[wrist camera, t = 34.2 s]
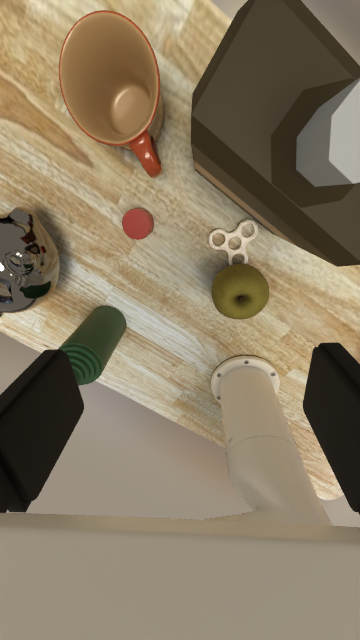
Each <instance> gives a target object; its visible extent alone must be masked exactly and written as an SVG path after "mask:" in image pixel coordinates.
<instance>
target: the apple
mask: <svg viewBox="0 0 360 640" xmlns="http://www.w3.org/2000/svg"><path fill="white" fill-rule="evenodd" d="M211 291H212V299H213V302H214V305H215V307H216V308H217V310H218V311H219V312H220V313H221V314H223V315H224V316H226V317H229V318H232V319H247V318H250V317H253V316H255V315H256V314H258V313H259V312H260V311H261V310H262V309H263V308H264V307H265V305H266V304H267V302H268V299H269V286H268V283H267V281H266V279H265V278H264V276H263V275H262V274H261V273H260V272H259V271H258V270H257V269H256V268H254V267H252V266H250V265H247V264H234V265H231V266H228V267H226V268H225V269H223V270H222V271H221V272H219V273H218V275H217V276H216V277H215V279H214V281H213V284H212V290H211Z"/></svg>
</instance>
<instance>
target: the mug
mask: <svg viewBox="0 0 360 640" xmlns="http://www.w3.org/2000/svg"><path fill="white" fill-rule="evenodd" d="M59 80H60V87H61V92H62V95H63V99H64V102H65V104H66V107H67V109H68V111H69V113H70V115H71V116H72V118H73V120H74V121H75V122H76V124H77V125H78V126H79V127H80V129H81V130H82V131H83V132H85V133H86V134H87V135H88V136H89V137H91V138H92V139H94V140H96V141H98V142H100V143H103V144H107V145H113V146H119V147H121V148H123V149H126V150H129V151H133V152H134V153H135V154H136V156H137V157H138V159H139V160H140V162H141V164H142V166H143V168H144V169H145V171H146V173H147V174H148V175H149V176H150V177H151V178H157V177H159V176H160V175H161V174H162V173H163V172H164V168H163V165H162V162H161V160H160V158H159V155H158V151H157V146H156V143H155V141H156V140H157V139H158V137H159V135H160V132H161V129H162V126H163V121H164V104H163V99H162V95H161V93H160V76H159V69H158V64H157V60H156V57H155V54H154V51H153V49H152V47H151V45H150V43H149V41H148V39H147V38H146V36H145V35H144V33H143V32H142V31H141V30H140V28H139V27H138V26H137V25H136V24H135V23H134V22H132V21H131V20H130V19H128V18H127V17H125V16H123V15H121V14H119V13H116V12H113V11H105V10H102V11H95V12H92V13H89V14H87V15H85V16H84V17H82V18H81V19H80V20H78V21H77V22H76V23H75V24H74V26H73V27H72V28H71V30H70V31H69V33H68V35H67V37H66V39H65V41H64V44H63V47H62V50H61V55H60V62H59Z"/></svg>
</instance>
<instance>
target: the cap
mask: <svg viewBox="0 0 360 640" xmlns="http://www.w3.org/2000/svg"><path fill="white" fill-rule="evenodd" d="M122 226H123V229H124V231H125V233H126V234H127V235H128V236H129V237H130V238H132V239H136V240H139V239H143V238H145V237H146V236H147V235H149V234H150V233H151V231H152V230H153V227H154V221H153V217H152V215H151V214H150V213H149V212H148V211H147V210H145V209H143V208H136V209H131V210H129V211H128V212H126V214H125V215H124V217H123V220H122Z"/></svg>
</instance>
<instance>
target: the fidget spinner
mask: <svg viewBox="0 0 360 640" xmlns="http://www.w3.org/2000/svg"><path fill="white" fill-rule="evenodd" d="M245 224H252V225H253V227H254V232H253V234H252V235H251V236H250V237H244V236H242V234H241V229H242V227H243V226H244V225H245ZM216 233H222V234H223V235H224V236H225V241H224V243H223V244H222V245H220V246H216V245H214V244H213V242H212V238H213V236H214V235H215V234H216ZM257 234H258V225H257V223H256V222H255V221H253V220H244V221H242V222H241V223H240V224H239V226H238V228H237V229H236V230H235V231H233V232H226V231H225V230H223V229H216V230H214V231H212V232H211V234H210V235H209V244H210V246H211V247H212V248H213V249H216V250H225V251H226V252H227V253H228V262H229V265H230V266H231V265H234V264H233V263H232V258H233V256H234V255H235V254H238V253H240V254H243V255H244V261H243V263H242V264H247V262H248V255H247V253H246V251H245V247H246V245H247V243H248V242H249V241H251V240H253V239H254V238H255V237H256V236H257ZM233 237H238V238H240V240H241V245H240V247H239V248H238V249H235V250H233V249H230V248H229V245H228V243H229V241H230V239H231V238H233Z"/></svg>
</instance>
